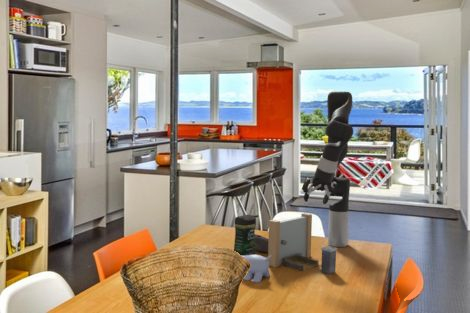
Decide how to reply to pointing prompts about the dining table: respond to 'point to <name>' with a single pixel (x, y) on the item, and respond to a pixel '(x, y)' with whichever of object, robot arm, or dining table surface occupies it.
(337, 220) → the robot arm
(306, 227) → the door
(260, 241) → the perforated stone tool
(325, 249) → the bar
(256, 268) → the hippopotamus toy
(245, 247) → the coffee jar
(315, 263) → the keeper
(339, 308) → the dining table surface
